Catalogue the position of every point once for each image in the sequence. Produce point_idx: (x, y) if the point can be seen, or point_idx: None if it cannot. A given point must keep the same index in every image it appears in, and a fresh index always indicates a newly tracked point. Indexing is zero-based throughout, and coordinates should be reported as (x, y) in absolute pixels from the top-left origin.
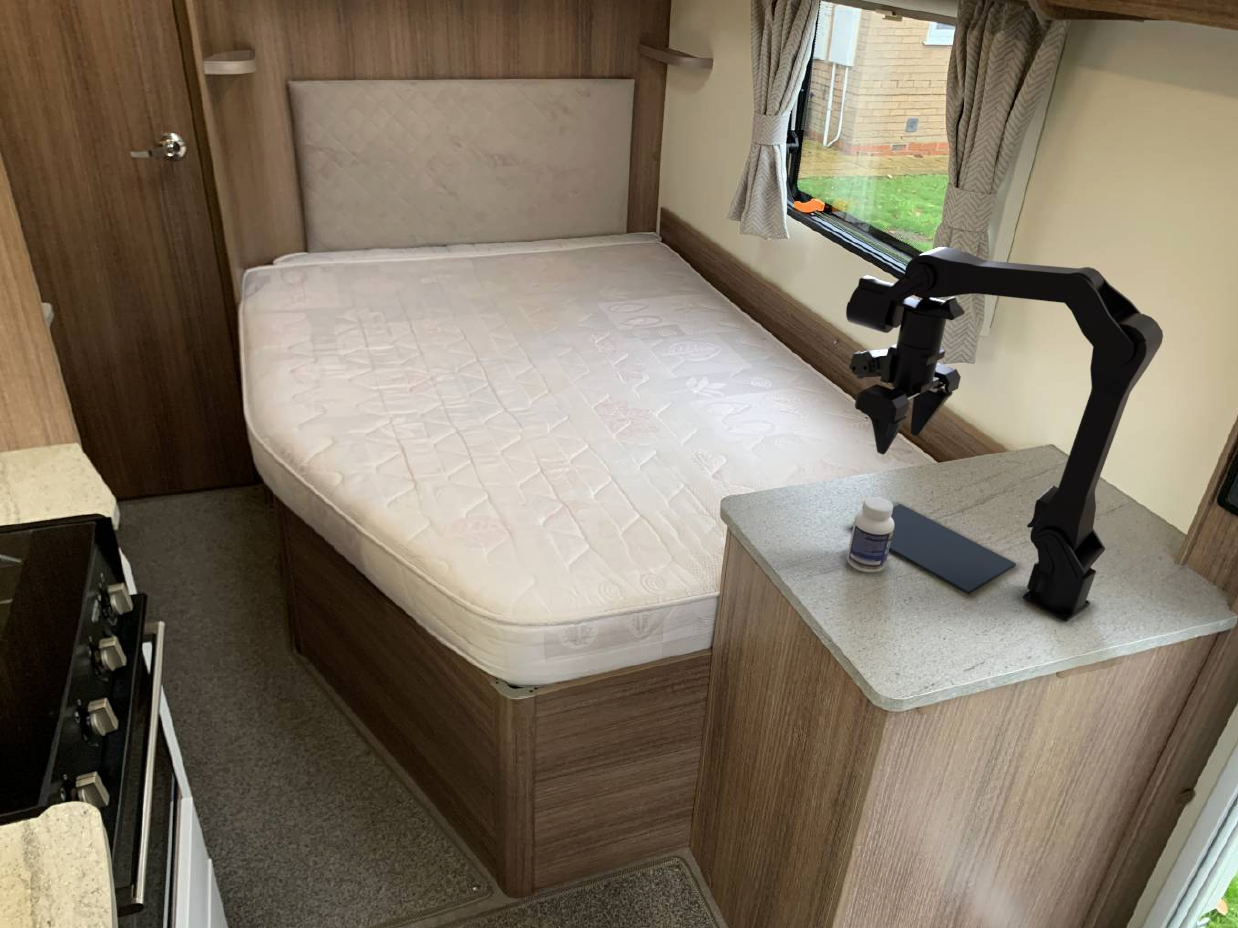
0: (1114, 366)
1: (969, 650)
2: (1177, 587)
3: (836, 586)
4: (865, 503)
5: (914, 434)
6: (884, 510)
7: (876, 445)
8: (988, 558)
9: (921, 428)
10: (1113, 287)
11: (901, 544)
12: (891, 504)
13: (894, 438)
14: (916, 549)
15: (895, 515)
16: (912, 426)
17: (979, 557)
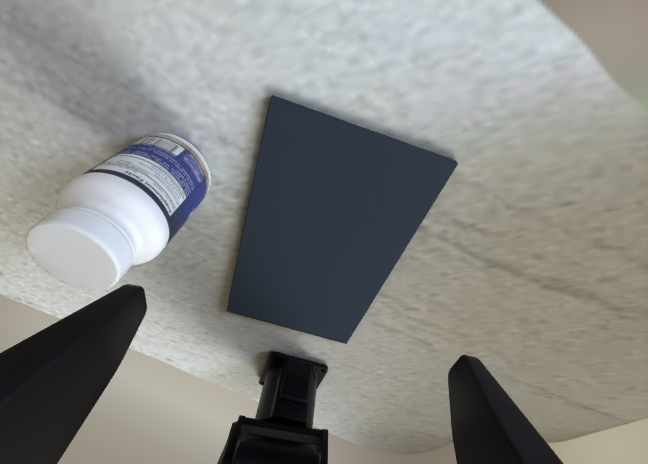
0: None
1: None
2: (407, 436)
3: (59, 148)
4: (31, 231)
5: (455, 369)
6: (59, 279)
7: (84, 308)
8: (334, 319)
9: (454, 432)
10: None
11: (278, 211)
12: (106, 285)
13: (65, 442)
14: (281, 236)
15: (390, 170)
16: (476, 399)
17: (329, 310)
